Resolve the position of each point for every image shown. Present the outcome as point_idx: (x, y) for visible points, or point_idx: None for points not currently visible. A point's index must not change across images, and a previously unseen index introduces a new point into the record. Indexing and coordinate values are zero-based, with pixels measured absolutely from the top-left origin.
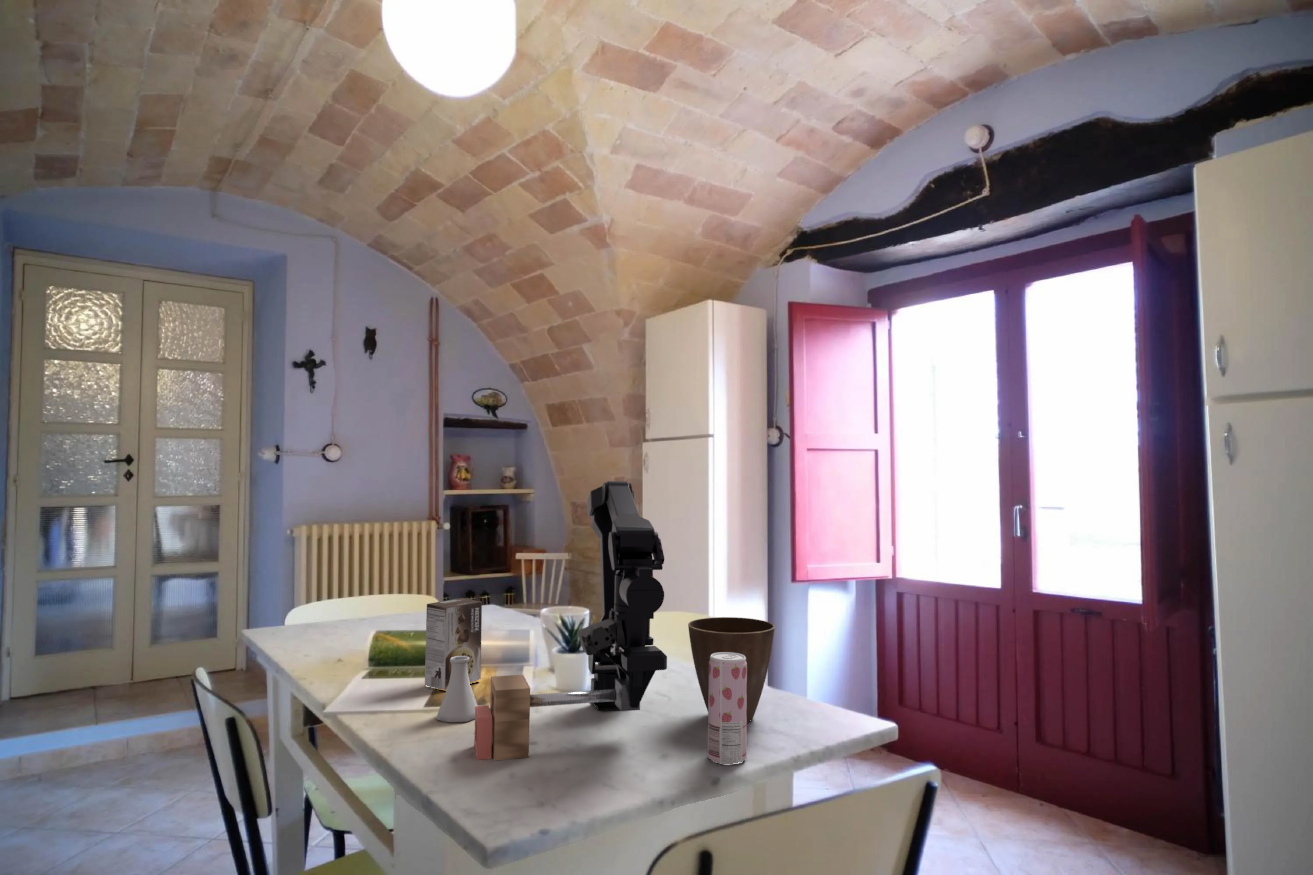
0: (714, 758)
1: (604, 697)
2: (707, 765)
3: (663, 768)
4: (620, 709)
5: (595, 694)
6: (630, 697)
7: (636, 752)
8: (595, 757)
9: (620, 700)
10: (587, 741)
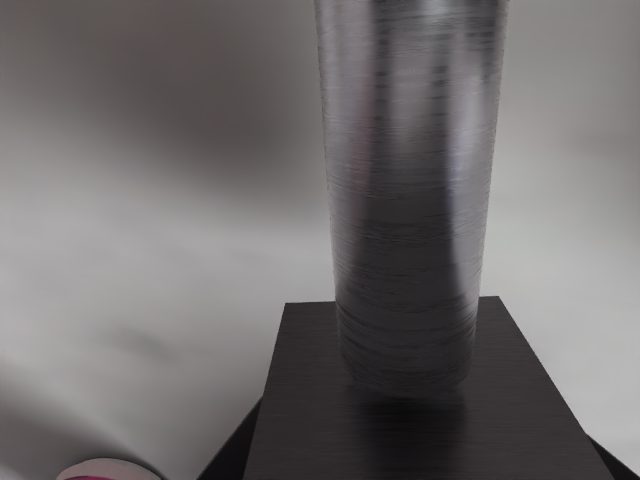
0: (63, 474)
1: (331, 221)
2: (60, 439)
3: (13, 314)
4: (308, 305)
5: (330, 105)
6: (221, 449)
7: (190, 257)
8: (123, 43)
9: (310, 353)
10: None
